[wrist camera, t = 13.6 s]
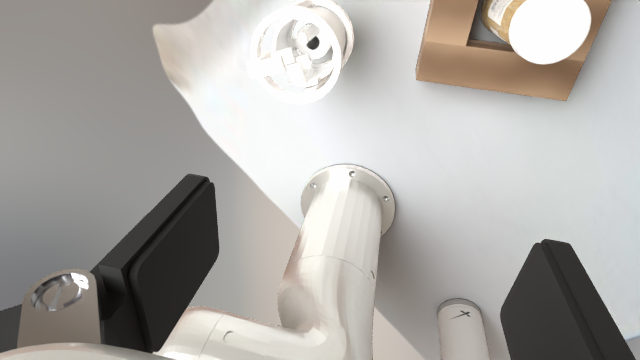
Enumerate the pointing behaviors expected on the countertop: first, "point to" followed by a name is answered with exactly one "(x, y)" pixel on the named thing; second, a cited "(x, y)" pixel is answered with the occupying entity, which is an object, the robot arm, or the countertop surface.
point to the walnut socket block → (493, 55)
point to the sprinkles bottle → (539, 26)
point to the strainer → (302, 49)
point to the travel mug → (461, 331)
